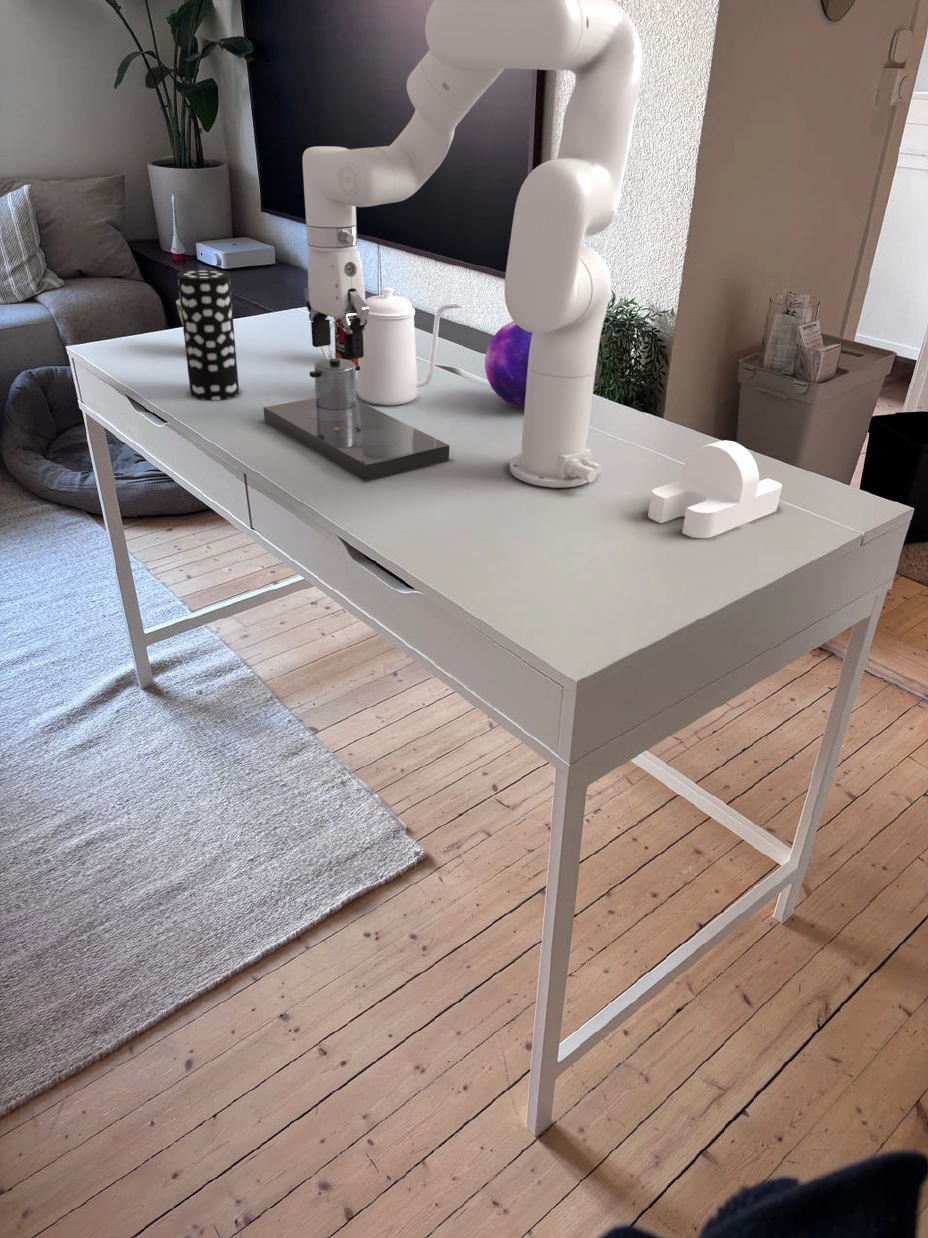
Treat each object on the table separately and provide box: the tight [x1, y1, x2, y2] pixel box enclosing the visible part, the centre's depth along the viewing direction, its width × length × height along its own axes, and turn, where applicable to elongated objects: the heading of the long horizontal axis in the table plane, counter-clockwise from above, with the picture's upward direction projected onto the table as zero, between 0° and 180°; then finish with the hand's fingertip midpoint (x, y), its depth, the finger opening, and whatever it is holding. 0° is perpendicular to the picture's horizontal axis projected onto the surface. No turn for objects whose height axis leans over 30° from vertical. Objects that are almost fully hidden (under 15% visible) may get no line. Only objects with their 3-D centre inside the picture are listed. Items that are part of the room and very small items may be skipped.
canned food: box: [333, 317, 359, 365], centre depth 182 cm, size 8×8×11 cm
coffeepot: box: [319, 286, 465, 406], centre depth 162 cm, size 11×25×19 cm, turn 84°
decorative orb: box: [484, 320, 532, 408], centre depth 162 cm, size 15×15×15 cm
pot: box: [309, 358, 360, 410], centre depth 153 cm, size 7×9×7 cm
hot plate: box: [263, 397, 450, 482], centre depth 146 cm, size 30×15×2 cm, turn 39°
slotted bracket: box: [647, 439, 783, 539], centre depth 126 cm, size 18×10×10 cm, turn 130°
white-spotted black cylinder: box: [177, 268, 240, 401], centre depth 159 cm, size 8×8×20 cm
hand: (337, 351), depth 150 cm, fingers open, 9 cm apart
